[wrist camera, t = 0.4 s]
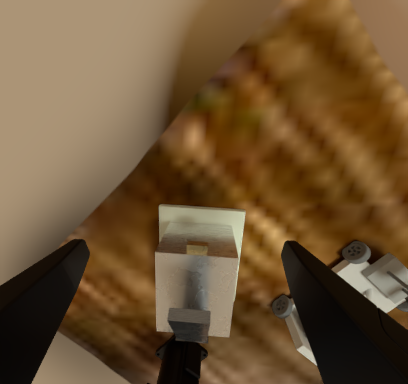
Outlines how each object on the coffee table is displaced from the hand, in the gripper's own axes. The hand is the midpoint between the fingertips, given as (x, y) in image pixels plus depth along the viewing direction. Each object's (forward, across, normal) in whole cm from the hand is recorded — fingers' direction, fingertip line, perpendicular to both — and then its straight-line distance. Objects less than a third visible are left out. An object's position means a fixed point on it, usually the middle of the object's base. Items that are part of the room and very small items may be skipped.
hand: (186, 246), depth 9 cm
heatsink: (+13, -1, +15) cm, 20 cm away
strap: (+3, 0, +13) cm, 13 cm away
